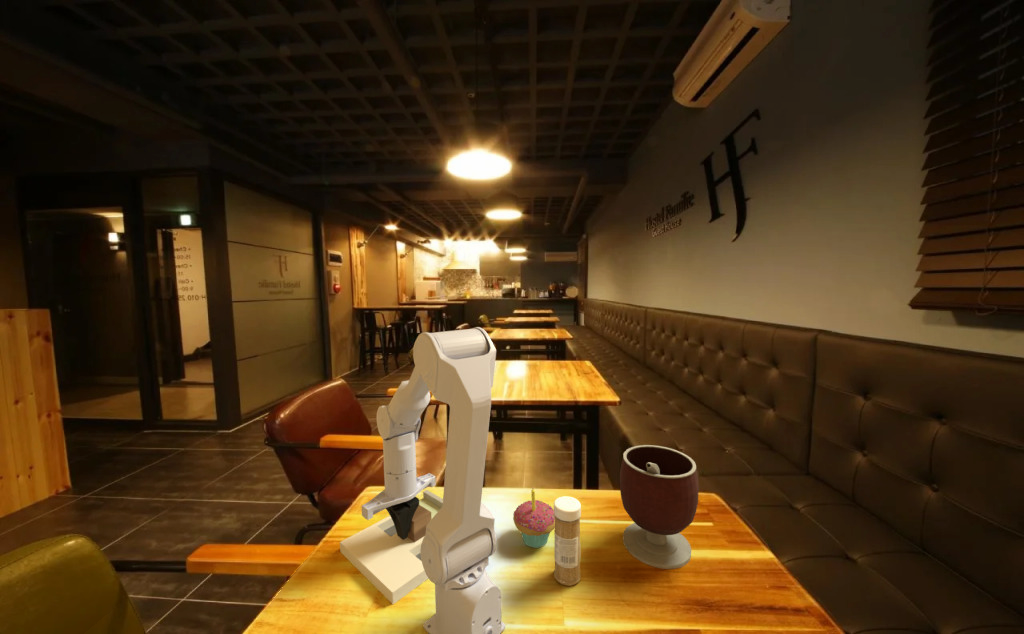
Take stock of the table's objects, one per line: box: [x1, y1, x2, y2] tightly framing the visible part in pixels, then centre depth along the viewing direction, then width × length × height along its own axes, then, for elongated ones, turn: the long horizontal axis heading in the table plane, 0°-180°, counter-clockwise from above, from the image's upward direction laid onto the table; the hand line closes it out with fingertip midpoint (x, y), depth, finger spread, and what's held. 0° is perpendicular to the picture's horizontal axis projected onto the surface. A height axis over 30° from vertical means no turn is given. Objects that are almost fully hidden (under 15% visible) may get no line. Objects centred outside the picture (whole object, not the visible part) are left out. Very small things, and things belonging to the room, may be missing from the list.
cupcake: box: [512, 486, 555, 549], centre depth 74 cm, size 9×8×12 cm
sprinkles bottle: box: [553, 495, 582, 587], centre depth 64 cm, size 5×5×14 cm
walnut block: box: [408, 505, 431, 542], centre depth 73 cm, size 4×4×4 cm
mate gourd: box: [619, 444, 700, 570], centre depth 71 cm, size 16×14×20 cm
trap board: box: [339, 489, 443, 605], centre depth 73 cm, size 18×20×4 cm
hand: (402, 536), depth 71 cm, fingers closed
